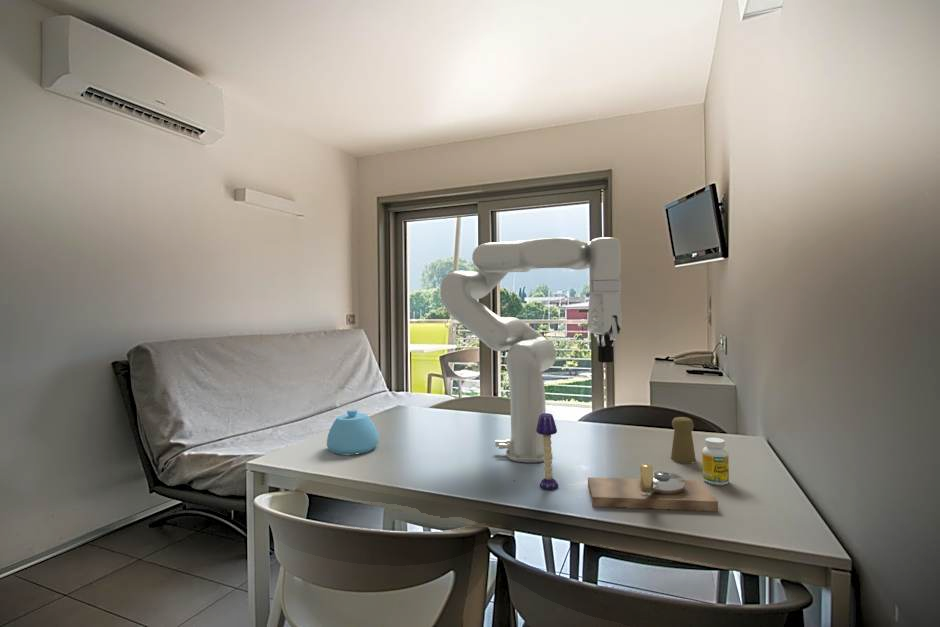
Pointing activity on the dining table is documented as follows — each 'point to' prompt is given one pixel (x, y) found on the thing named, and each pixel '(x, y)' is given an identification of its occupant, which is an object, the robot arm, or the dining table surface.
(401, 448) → the dining table surface
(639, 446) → the dining table surface
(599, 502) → the stand plate
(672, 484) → the crank handle
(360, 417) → the sugar bowl
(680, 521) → the dining table surface
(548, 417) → the toy lamp
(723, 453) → the supplement bottle
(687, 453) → the cork
